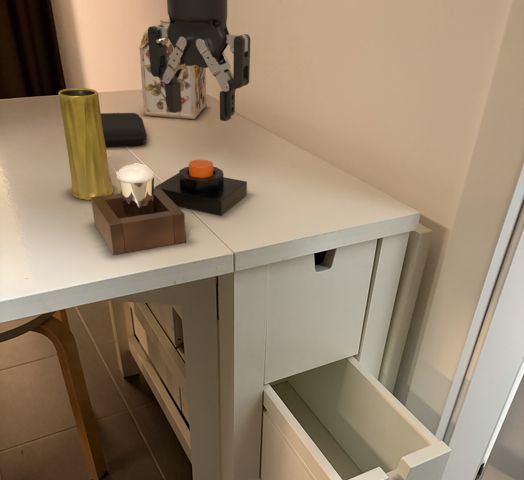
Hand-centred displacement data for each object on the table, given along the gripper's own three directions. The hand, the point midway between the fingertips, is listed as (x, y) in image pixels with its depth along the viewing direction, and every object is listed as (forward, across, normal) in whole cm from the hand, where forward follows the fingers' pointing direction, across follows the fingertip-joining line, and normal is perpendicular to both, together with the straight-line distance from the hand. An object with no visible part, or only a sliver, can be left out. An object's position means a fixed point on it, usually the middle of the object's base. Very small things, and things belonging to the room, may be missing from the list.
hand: (200, 115), depth 77 cm
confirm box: (+12, 0, 0) cm, 12 cm away
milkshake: (+12, -2, -15) cm, 19 cm away
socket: (+12, -2, -15) cm, 19 cm away
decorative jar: (+12, -29, +43) cm, 54 cm away
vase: (+12, -16, -6) cm, 21 cm away
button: (+9, 0, 0) cm, 9 cm away
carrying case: (+12, -29, +20) cm, 38 cm away
